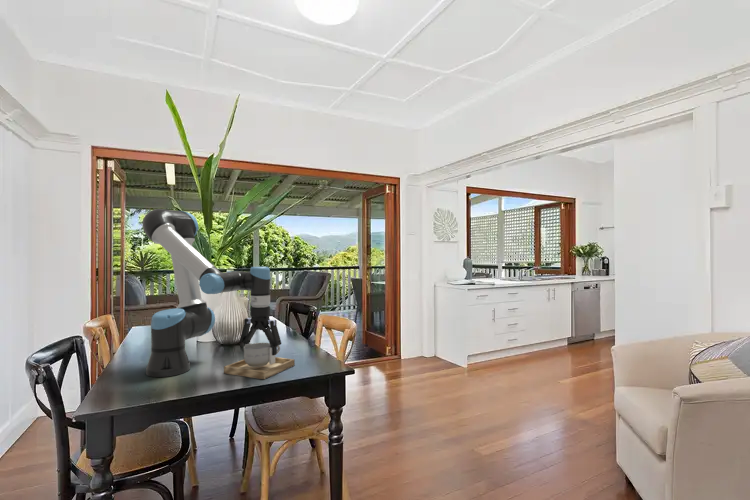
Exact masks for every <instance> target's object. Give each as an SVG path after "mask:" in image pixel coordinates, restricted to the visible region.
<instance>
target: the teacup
mask: <svg viewBox="0 0 750 500" xmlns="http://www.w3.org/2000/svg"><path fill="white" fill-rule="evenodd" d="M269 347H271V345H270V343H269V342H254V343H253V342H252V343H251V344H248V345H245V346H244V345H243V358H244V359H243V360H245V362H246V364H248V365H249V366H251V367H260V366H265V365H267V364H268V362H269ZM280 350H281V345H278V346H277V354H279V353H280Z"/></svg>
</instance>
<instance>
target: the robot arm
mask: <svg viewBox="0 0 750 500" xmlns="http://www.w3.org/2000/svg"><path fill="white" fill-rule="evenodd" d="M142 228H143V231H144V233H145V235H146V236H147V237H148V238H149V239H150V240H151V241H152V242H153V243H155V244H156V245H157V244H158V245H160V246H161V247H162V248H164V250H165V251H167V252H168V253H169V254H170V258H171V261H172V267H173V274H174V279H175V284H176V291H177V296H178V303H179V304H178V305H177V306H176V308H175V307H174V308H169V309H163V310H159V311H157V312H155V313H154V314H153V315H152V316H151V322H150V323H151V324H150V331H151V332H150V339H151V340H150V342H151V344H150V345H151V346H150V347H151V348H150V350H151V351H150V356H149V359H148V362H147V365H146V368H145V375H146V376H148V377H153V378H164V377H165V378H166V377H171V376H178V375H181V374H184V373H187V372H189V371H190V369H191V362H190V360H189V356H188V354H187V351H186V340H189V339H194V338H197V337H202V336H203V335H206V334H209V332H211V331H212V330H213V328H214V327H215V323H216V316H215V315H216V314H215V312H214V310H212V309H211V308H210V307H208V304H207V301H206V300H204V299H203V298H202V294H201V293H204V294H207V295H217V294H222V293H229V292H234V291H250V293H249V294H250V303H249V304H250V307H249V308H250V309H249V311H250V317H246V318H244V321H243V323H244V324H243V327H242V332H241V335H240V338H239V342H240V343H243V347H244V346H245V345H248V344H252V339H253V337H254V335H255V334H256V332H257V331H258V330H259V331H262V332H263V333H264V335H265V337H266V339H267V341H268V343H270V345H271V347H269V364H273V363H275V357H276V355H278V353H277V349H278V348H277V346H278V345H279V346H281V345H282V340H281V337H280V333H279V330H278V327H277V320H276V319H270V316H271V307H270V305H271V269H270V268H269V266H251V267H250V268H249V269H250V270H249V271H239V270H230V271H226V272H224V271H223V272H221V271H220V270H219V269H218V268H217V267H216V266H215V265H214V264H212V263H211V262H210V261H209V260H208V259H207V258H206V257H204V256H203V255H202V254H201V253H200V252H199V251H198V250H197V249H196V248H195V247H194V246H193V243H194V242H195V241H196V238H195V236H197V234H198V231H199V223H198V220H197V218H196V216H194V215H193V214H192V213H191V212H188V211H185V210H184V211H183V210H174V209H165V208H155V209H153V210H152V209H151V210H150V211H149V212H147V213H146V214H145V216H144V217H143V220H142Z"/></svg>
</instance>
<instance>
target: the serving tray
mask: <svg viewBox="0 0 750 500" xmlns="http://www.w3.org/2000/svg"><path fill="white" fill-rule="evenodd" d="M295 362H296V361H295V359H294V358H286V357H285V358H284V357H278V356H275V363H273V364H269V362H268V364H267V365H265V366H260V367H251V366H249V365H248V364H246V362H245V360H244V359H241V360H239V361H236V362H233V363H230V364H227V365H225V366H223V373H224V374H226V375H227V374H228V375H233V376H241V377H245V378H251V379H260V380H266V379H268V378H271V377H273V376H275V375H277V374H279V373H281V372H283V371H286V370H288V369H290V368H293V367H294V366H295Z"/></svg>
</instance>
